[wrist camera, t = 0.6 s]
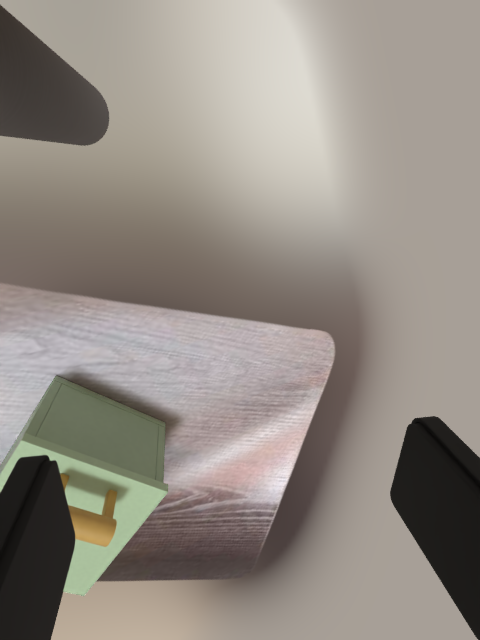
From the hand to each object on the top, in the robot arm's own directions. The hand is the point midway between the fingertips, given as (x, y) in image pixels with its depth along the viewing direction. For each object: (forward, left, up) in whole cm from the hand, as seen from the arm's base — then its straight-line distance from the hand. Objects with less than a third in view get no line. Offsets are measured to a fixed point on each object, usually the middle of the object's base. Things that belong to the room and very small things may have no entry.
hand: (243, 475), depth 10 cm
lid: (+24, +1, -16) cm, 29 cm away
